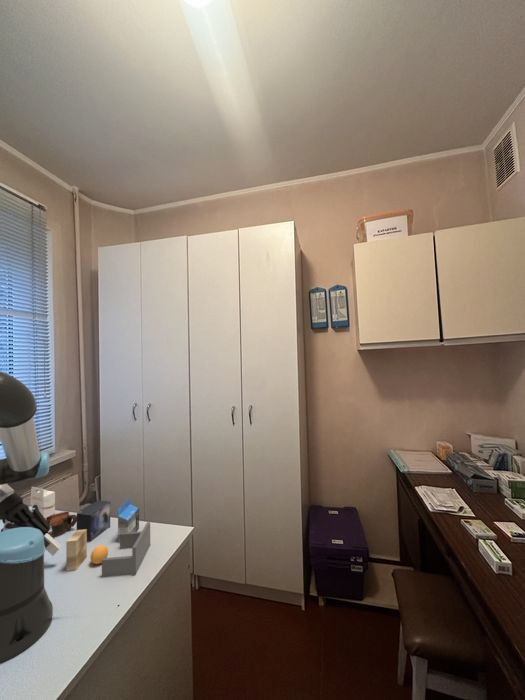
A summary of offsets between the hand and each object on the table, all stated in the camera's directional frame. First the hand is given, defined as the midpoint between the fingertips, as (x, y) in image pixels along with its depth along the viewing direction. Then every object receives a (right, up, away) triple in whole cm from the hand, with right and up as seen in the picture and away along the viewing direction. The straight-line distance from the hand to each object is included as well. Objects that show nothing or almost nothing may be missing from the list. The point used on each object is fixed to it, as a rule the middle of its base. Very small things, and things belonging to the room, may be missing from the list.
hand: (57, 551), depth 92 cm
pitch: (+15, -5, +1) cm, 16 cm away
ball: (+13, -4, +1) cm, 14 cm away
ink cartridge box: (-26, -7, +28) cm, 39 cm away
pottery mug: (-13, -7, +20) cm, 24 cm away
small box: (+2, -6, +17) cm, 18 cm away
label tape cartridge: (+16, -5, +15) cm, 23 cm away
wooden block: (+6, -4, 0) cm, 7 cm away
